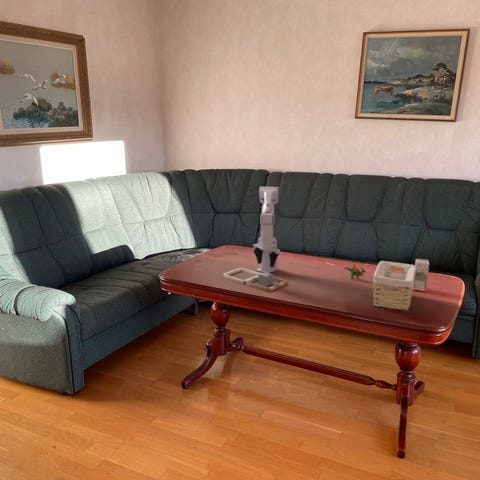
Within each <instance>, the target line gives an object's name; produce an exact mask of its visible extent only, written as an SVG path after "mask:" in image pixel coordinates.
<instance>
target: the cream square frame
mask: <svg viewBox="0 0 480 480" xmlns="http://www.w3.org/2000/svg"><path fill="white" fill-rule="evenodd" d="M240 272H243V273H247V274H250V275H253V276H251V277H248V278H247V279H241V278H237V277H234V276H231V275H234V274H237V273H240ZM259 274H262V273H261V272H259V271H254V270H250V269H248V268H244V267H240V268H236V269H234V270H230V271H227V272H224V273H221V278H224V279H227V280H230V281H233V282H237V283H239V284H243V285H245V281H247V280H249V279H252V278H255V277H257V276H259Z"/></svg>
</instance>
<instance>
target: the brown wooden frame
mask: <svg viewBox="0 0 480 480" xmlns="http://www.w3.org/2000/svg"><path fill="white" fill-rule="evenodd" d="M258 277H259V276H257V277H255V278H252V279H249V278H248V279H249V280H247V281H245V284H244V285H246V286H248V287H252V288H255V289H259V290H261V291H265V292H268V293H269V292H271V291H274V290H276V289H279V288H281V287H284V286H286V285H287V284H288V280H285V279H281V278H278V277H275V276H273V282H277V284H274V285H271V286H270V287H269V286H267V287H265V286H262V285H259V284H258V283H257V284H256V283H254V282H255V281H258Z"/></svg>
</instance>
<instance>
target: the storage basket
mask: <svg viewBox="0 0 480 480" xmlns="http://www.w3.org/2000/svg"><path fill="white" fill-rule="evenodd" d="M392 269H396V270H397V269H398V270H403V273H400V272H393V271H392ZM415 272H416V266H415V265H414V264H409V263H403V262H402V263H401V262H395V261H394V262H393V261H385V260H381V261H379V262H378V264H377V267H376V269H375V271H374V275H373V281H372V282H373V283H372V285H373V306H374V305H375V306H383V307H389V308H397V309H406V310H408V311H409V309H410V306H411V303H410V302H411V300H412V293H413V283H414V278H415ZM375 306H374V307H375ZM408 308H409V309H408Z"/></svg>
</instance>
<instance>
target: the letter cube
mask: <svg viewBox="0 0 480 480" xmlns="http://www.w3.org/2000/svg"><path fill="white" fill-rule="evenodd" d="M273 277H274V274H272V273H266V272H262V273H261V274H259V277H258V280H257V281H258V282H257V285H260V286H263V287H267V288H268V287H269V286H270V287H271V286H273V283H274V281H273Z"/></svg>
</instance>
